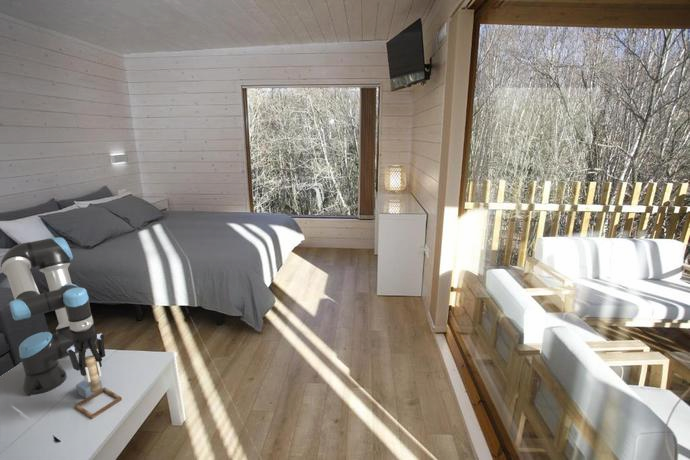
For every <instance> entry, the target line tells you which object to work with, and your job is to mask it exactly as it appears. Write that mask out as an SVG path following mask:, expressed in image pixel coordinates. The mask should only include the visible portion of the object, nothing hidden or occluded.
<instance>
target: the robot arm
mask: <svg viewBox="0 0 690 460" xmlns="http://www.w3.org/2000/svg"><path fill="white" fill-rule="evenodd" d="M73 259H74V256H73V253H72V250H71V248H70V246H69V244H68V241H66V239H65V238H64V237H58V236H57V237H50V238H45V239H41V240H40V239H39V240H34V241H27V242H23V243H22V242H21V243H19V244H16V245H14V246H13V247H11V248H10V249H8V251H6V252H5V254H4V255H3V257H2V259H1V261H0V269H1V272H2V273H3V274H4V275H5V276H6V278H7V280H8V283H9V286H10V289H11V293H12V296H13V299H14V300H12V301H11V300H10V302H9V303H8V304H9V308H10V312H11V316H12V319H13V320H14V321H21V320H24V319H29V318H32V317H36V316H40V315H43V314H47V313H49V312H54V311H55V315H56V318H57V322H58V325H57V327H56V328H55V330H56V332H55V333H51V332H49V331H44V332H43V331H41V332H37V333H36V334H32V335H31V336H28V337H27V338H26V339H24V340H23V341H22V342H21V343H20V344H19V346H18V353H19V358H20V359H21V363H22V368H23V370H24V374H25V375H24V376H25V377H24V382H23V391H24V394H26V395H27V396H35V395H42V394H45V393H49V392H51V391H53V390H56V388H58V387H60V386H61V385H62V384H63V383H64V382H65V381H66V380H67V377H68V376H67V372H66V370H65V369H64V368H63V367H62V366H61V364H60V363H59V360H61V359H64V358H67V357H69V360H70V362H71V365H72V368H73V369H74V370H76V371H77V372H78V371H79V372H80V375H81V376H83V377H84V380H85V381H87V382H91V380H90V376H89V371H88V368H87V367H85V357H86V353H87V350H89V351H90V352H91V354H92V356H94V357H95V362H96V366H97V371H98V376H99V377H102V371H101V367H102V361H103V358H105V357H106V350H105V349H106V348H105V342H104V338H105V334H104V333H102V332H98V333H96V329H95V325H94V318H93V315H92V311H91V306H90V299H89V294H88V292H87V289H86V288H84V287H81V286H78V285H77V284H75V283H72V279H71V276H70V272H69V266H70V265H71V261H72V260H73ZM34 268H35V269H36V268H38V270H39V272H41V273H43V274H44V276H45V279H46V282H47V286H48V287H47V288H48V290H49V291H47V292H46V291H45V292H42V293H40V291H39V289H38V286H37V283H36V282H35V279H34V276H33V274H32V271H31V269H34ZM95 342H96V343H95ZM96 344H97V345H96ZM96 347H97V348H96ZM76 354H78V356H77V355H76ZM77 357H78V358H77Z"/></svg>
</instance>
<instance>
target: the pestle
mask: <svg viewBox="0 0 690 460" xmlns="http://www.w3.org/2000/svg"><path fill="white" fill-rule="evenodd" d="M85 367H87V368H88V371H89V376H90V380H91V382H89V386H90V390H91V392H92V393H95V392H98V391H99V390H100V389H101V385H100V376H98V371H97V366H96V362H95V357H94V356H93V355H88V356H85Z"/></svg>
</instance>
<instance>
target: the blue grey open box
mask: <svg viewBox="0 0 690 460" xmlns="http://www.w3.org/2000/svg"><path fill="white" fill-rule="evenodd" d="M99 380H100V379H99ZM102 383H103V382H102V380H100V385H101V389H103V388H104V387H103V384H102ZM76 389H77V390H76V391H77V393H78V395H80V396H82V397H83V398H84V399H86V398H88V397H89V396H91V395H93V394H94V393H92V392H91V390H90V386H89V382H87V381H85V379H84V380H82V381H80V382H78V383H76ZM101 389H100V390H101ZM95 393H96V392H95Z"/></svg>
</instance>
